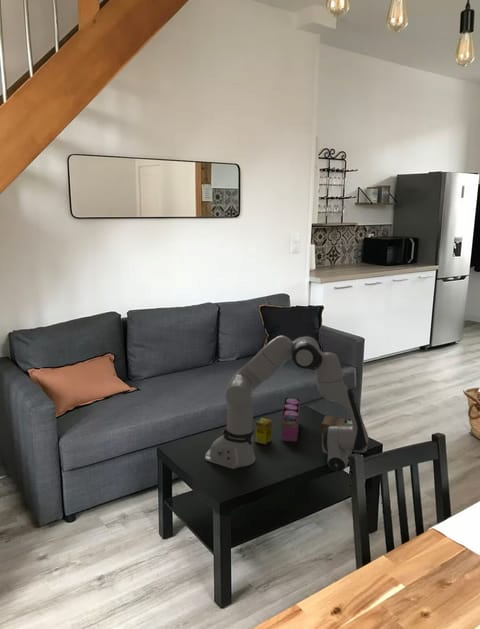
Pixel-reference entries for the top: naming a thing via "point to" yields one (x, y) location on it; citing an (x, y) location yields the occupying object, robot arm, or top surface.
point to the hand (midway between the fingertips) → (346, 435)
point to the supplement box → (263, 431)
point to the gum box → (290, 420)
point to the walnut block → (330, 423)
